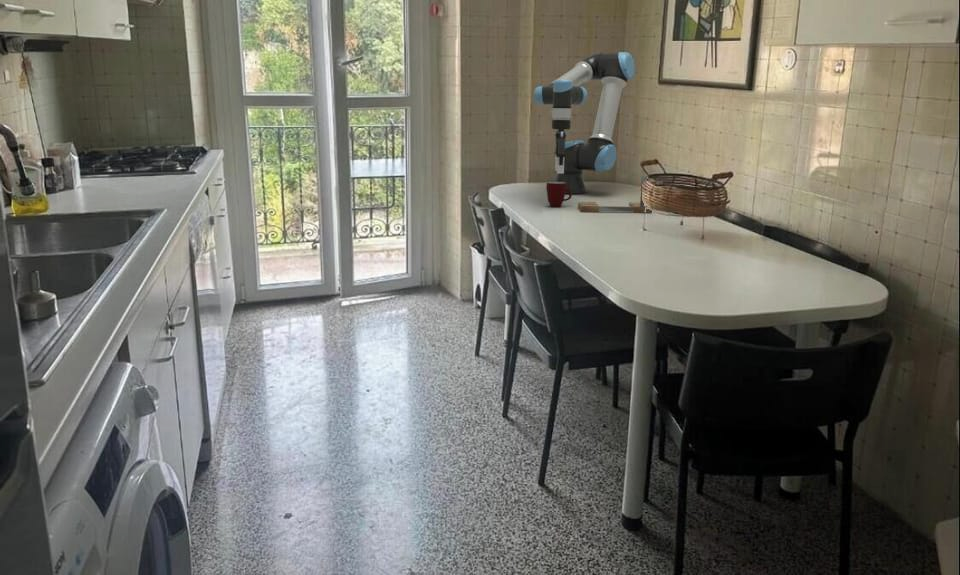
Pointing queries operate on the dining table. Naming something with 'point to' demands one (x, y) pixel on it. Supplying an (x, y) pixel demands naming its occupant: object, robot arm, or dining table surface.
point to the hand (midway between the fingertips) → (559, 172)
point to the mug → (557, 193)
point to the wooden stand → (632, 206)
